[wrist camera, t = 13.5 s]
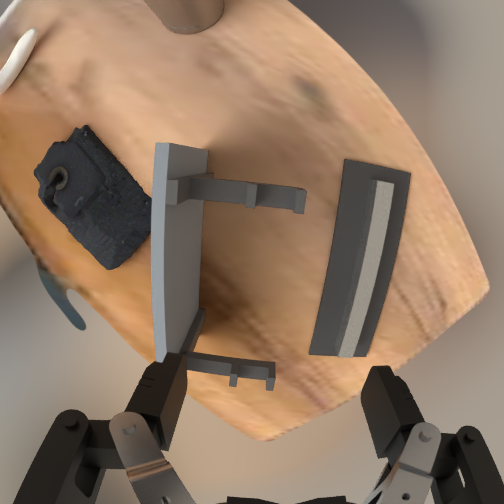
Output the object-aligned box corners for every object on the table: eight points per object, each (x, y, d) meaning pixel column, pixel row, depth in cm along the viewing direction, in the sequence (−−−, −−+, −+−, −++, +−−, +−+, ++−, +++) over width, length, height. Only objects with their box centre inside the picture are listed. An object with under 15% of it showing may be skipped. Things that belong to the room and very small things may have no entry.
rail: (369, 178, 36) (377, 180, 33) (385, 182, 36) (394, 183, 33) (334, 346, 44) (337, 357, 41) (348, 346, 44) (352, 357, 41)
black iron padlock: (112, 279, 44) (98, 291, 39) (36, 187, 40) (19, 191, 35) (171, 213, 40) (159, 220, 35) (82, 116, 36) (64, 113, 32)
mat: (344, 159, 36) (345, 159, 36) (409, 173, 36) (410, 173, 35) (308, 352, 45) (309, 354, 45) (365, 355, 45) (365, 356, 44)
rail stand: (199, 150, 37) (155, 142, 22) (295, 159, 37) (315, 155, 21) (190, 334, 45) (161, 404, 30) (269, 344, 45) (269, 420, 30)
